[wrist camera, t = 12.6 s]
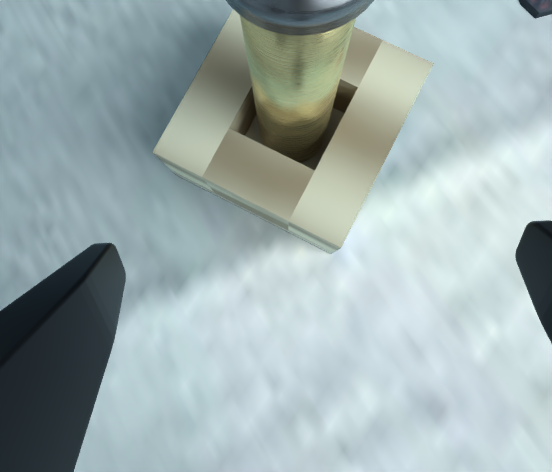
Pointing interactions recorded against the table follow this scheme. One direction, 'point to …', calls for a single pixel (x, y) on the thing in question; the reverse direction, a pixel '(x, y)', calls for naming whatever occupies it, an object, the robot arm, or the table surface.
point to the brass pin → (296, 67)
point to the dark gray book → (537, 7)
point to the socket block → (276, 167)
